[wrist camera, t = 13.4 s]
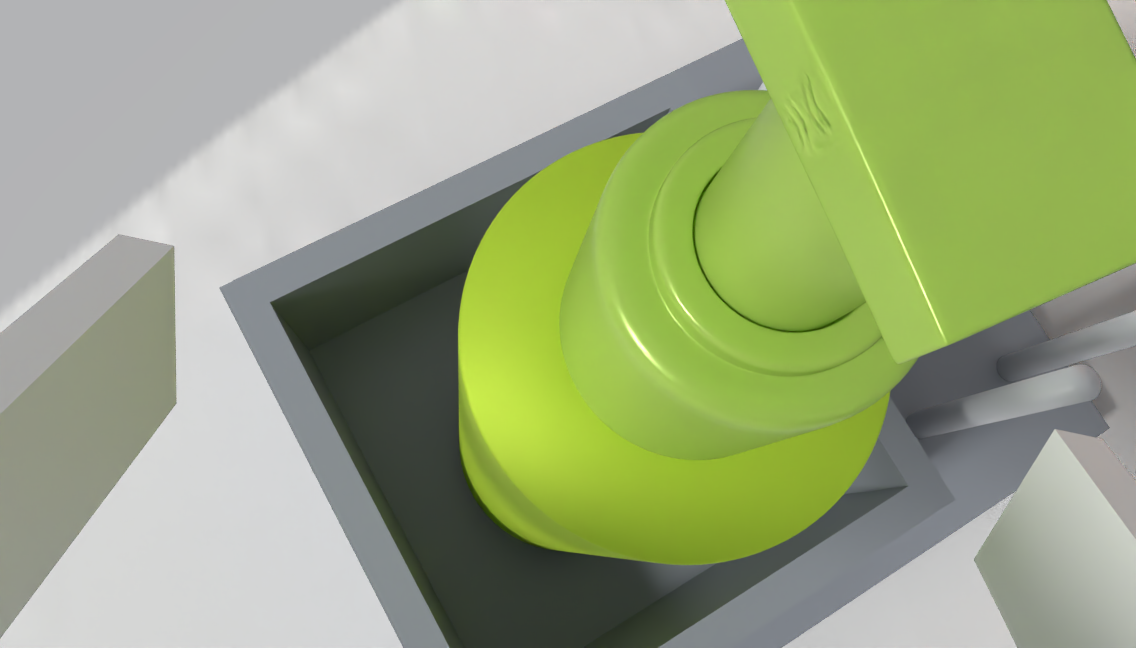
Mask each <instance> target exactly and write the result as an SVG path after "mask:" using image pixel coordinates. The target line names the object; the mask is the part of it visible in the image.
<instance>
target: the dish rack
mask: <svg viewBox="0 0 1136 648" xmlns="http://www.w3.org/2000/svg"><path fill="white" fill-rule="evenodd" d="M739 90H767V89H766V87H765V85H764V83H763V80H762V78H761V76H760V74H759V72H758V70H757V68H756V66H755V63H754V61H753V59H752V57H751V55H750V53H749V51H748V49H747V46H746V44H745V42H744V40H743V39H741V40H738V41H736V42H734V43H732V44H730V45H728V46H726V47H724V48H722V49H720V50H717V51H715V52H713V53H711V54H709V55H707V56H705V57H703V58H701V59H699V60H696V61H694V62H692V63H690V64H688V65H686V66H684V67H682V68H680V69H677V70H675V71H673V72H671V73H669V74H667V75H665V76H663V77H661V78H659V79H656V80H654V81H652V82H650V83H648V84H646V85H644V86H642V87H640V88H637V89H635V90H633V91H631V92H629V93H627V94H625V95H623V96H621V97H619V98H616V99H614V100H612V101H610V102H608V103H606V104H604V105H602V106H600V107H598V108H595V109H593V110H591V111H589V112H587V113H585V114H583V115H581V116H579V117H576V118H574V119H572V120H570V121H568V122H566V123H564V124H562V125H560V126H558V127H555V128H553V129H551V130H549V131H547V132H545V133H543V134H541V135H539V136H537V137H534V138H532V139H530V140H528V141H526V142H524V143H522V144H520V145H518V146H515V147H513V148H511V149H509V150H507V151H505V152H503V153H501V154H499V155H497V156H494V157H492V158H490V159H488V160H486V161H484V162H482V163H480V164H478V165H476V166H473V167H471V168H469V169H467V170H465V171H463V172H461V173H459V174H457V175H454V176H452V177H450V178H448V179H446V180H444V181H442V182H440V183H438V184H436V185H433V186H431V187H429V188H427V189H425V190H423V191H421V192H419V193H417V194H414V195H412V196H410V197H408V198H406V199H404V200H402V201H400V202H398V203H396V204H393V205H391V206H389V207H387V208H385V209H383V210H381V211H379V212H377V213H375V214H372V215H370V216H368V217H366V218H364V219H362V220H360V221H358V222H356V223H353V224H351V225H349V226H347V227H345V228H343V229H341V230H339V231H337V232H335V233H332V234H330V235H328V236H326V237H324V238H322V239H320V240H318V241H316V242H314V243H311V244H309V245H307V246H305V247H303V248H301V249H299V250H297V251H295V252H292V253H290V254H288V255H286V256H284V257H282V258H280V259H278V260H276V261H274V262H271V263H269V264H267V265H265V266H263V267H261V268H259V269H257V270H255V271H252V272H250V273H248V274H246V275H244V276H242V277H240V278H238V279H236V280H234V281H232V282H230V283H228V284H226V285H224V286H222V287H220V290H221V292H222V294H223V296H224V298H225V300H226V302H227V304H228V306H229V308H230V310H231V312H232V314H233V316H234V317H235V319H236V321H237V323H238V325H239V327H240V329H241V331H242V333H243V335H244V337H245V339H246V341H247V343H248V345H249V347H250V349H251V351H252V353H253V355H254V357H255V359H256V361H257V362H258V364H259V366H260V368H261V370H262V372H263V374H264V376H265V378H266V380H267V382H268V384H269V386H270V388H271V390H272V392H273V394H274V396H275V398H276V400H277V402H278V404H279V405H280V407H281V409H282V411H283V413H284V415H285V417H286V419H287V421H288V423H289V425H290V427H291V429H292V431H293V433H294V435H295V437H296V439H297V441H298V443H299V445H300V447H301V448H302V450H303V452H304V454H305V456H306V458H307V460H308V462H309V464H310V466H311V468H312V470H313V472H314V474H315V476H316V478H317V480H318V482H319V484H320V486H321V488H322V490H323V492H324V493H325V495H326V497H327V499H328V501H329V503H330V505H331V507H332V509H333V511H334V513H335V515H336V517H337V519H338V521H339V523H340V525H341V527H342V529H343V531H344V533H345V535H346V536H347V538H348V540H349V542H350V544H351V546H352V548H353V550H354V552H355V554H356V556H357V558H358V560H359V562H360V564H361V566H362V568H363V570H364V572H365V574H366V576H367V578H368V579H369V581H370V583H371V585H372V587H373V589H374V591H375V593H376V595H377V597H378V599H379V601H380V603H381V605H382V607H383V609H384V611H385V613H386V615H387V617H388V619H389V621H390V623H391V624H392V626H393V628H394V630H395V632H396V634H397V636H398V638H399V640H400V642H401V644H402V646H403V648H782V647H783V646H785V645H786V644H788V643H789V642H791V641H792V640H794V639H795V638H797V637H798V636H800V635H801V634H803V633H804V632H806V631H807V630H809V629H810V628H812V627H813V626H815V625H816V624H818V623H819V622H821V621H822V620H824V619H825V618H827V617H828V616H830V615H831V614H833V613H834V612H836V611H837V610H839V609H840V608H842V607H843V606H844V605H846V604H847V603H849V602H850V601H852V600H853V599H855V598H856V597H858V596H859V595H861V594H862V593H864V592H865V591H867V590H868V589H870V588H871V587H873V586H874V585H876V584H877V583H879V582H880V581H882V580H883V579H885V578H886V577H888V576H889V575H891V574H892V573H894V572H895V571H897V570H898V569H900V568H901V567H903V566H904V565H906V564H907V563H909V562H910V561H912V560H913V559H915V558H916V557H918V556H919V555H921V554H922V553H924V552H925V551H927V550H928V549H930V548H931V547H933V546H934V545H936V544H937V543H939V542H940V541H942V540H943V539H945V538H946V537H948V536H949V535H951V534H952V533H954V532H955V531H957V530H958V529H960V528H961V527H963V526H964V525H966V524H967V523H969V522H970V521H972V520H973V519H974V518H976V517H977V516H979V515H980V514H982V513H983V512H985V511H986V510H988V509H989V508H991V507H992V506H994V505H995V504H997V503H998V502H1000V501H1001V500H1003V499H1004V498H1006V497H1007V496H1009V495H1010V494H1012V493H1013V492H1015V491H1016V490H1017V489H1018V487H1019V486H1020V484H1021V483H1022V481H1023V479H1024V478H1025V476H1026V475H1027V473H1028V471H1029V470H1030V468H1031V466H1032V465H1033V463H1034V462H1035V460H1036V458H1037V457H1038V455H1039V454H1040V452H1041V450H1042V449H1043V447H1044V445H1045V444H1046V442H1047V441H1048V439H1049V437H1050V436H1051V434H1052V433H1053V431H1054V429H1057V430H1062V431H1067V432H1072V433H1077V434H1081V435H1086V436H1091V437H1097V436H1099V435H1100V434H1102V433H1103V432H1104V431H1106V430H1107V429H1109V426H1108V425H1107V423H1106V422H1105V420H1104V419H1103V417H1102V416H1101V414H1100V413H1099V412H1098V410H1097V409H1096V407H1095V406H1094V404H1093V403H1092V401H1091V400H1094V399H1095V398H1097V396H1098V395H1099V394H1100V391H1101V380H1100V378H1099V376H1098V374H1097V373H1096V371H1095V370H1094V369H1092V368H1091V367H1089V366H1087V365H1084V364H1078V365H1074V366H1071V367H1068V365H1071V364H1074V363H1078V362H1081V361H1085V360H1088V359H1092V358H1095V357H1098V356H1102V355H1105V354H1109V353H1112V352H1116V351H1119V350H1122V349H1126V348H1129V347H1133V346H1136V311H1133V312H1130V313H1127V314H1124V315H1121V316H1118V317H1115V318H1113V319H1110V320H1107V321H1104V322H1101V323H1098V324H1095V325H1092V326H1089V327H1086V328H1084V329H1081V330H1078V331H1075V332H1072V333H1069V334H1066V335H1063V336H1060V337H1057V338H1054V339H1052V340H1050V339H1049V338H1048V336H1047V335H1046V333H1045V332H1044V330H1043V329H1042V327H1041V326H1040V324H1039V323H1038V321H1037V320H1036V318H1035V317H1034V315H1033V314H1032V313H1031V311H1030V310H1028V311H1026V312H1024V313H1021V314H1019V315H1017V316H1015V317H1012V318H1010V319H1008V320H1005V321H1003V322H1001V323H999V324H996V325H994V326H992V327H990V328H987V329H985V330H983V331H980V332H978V333H976V334H974V335H971V336H969V337H967V338H965V339H962V340H960V341H958V342H955V343H953V344H951V345H948V346H946V347H943V348H941V349H938V350H936V351H933V352H930V353H928V354H925V355H923V356H920V357H919V358H918V359H917V361H916V362H915V364H914V365H913V366H912V368H911V369H910V370H909V372H908V373H907V374H906V375H905V376H904V378H903V379H902V380H901V381H900V382H899V383H898V384H897V385H896V386H895V387H894V388H893V389H892V390H891V391H890V397H889V402H888V407H887V411H886V415H885V419H884V422H883V425H882V428H881V431H880V434H879V436H878V439H877V441H876V444H875V446H874V448H873V450H872V452H871V454H870V456H869V458H868V460H867V462H866V464H865V465H864V467H863V469H862V470H861V472H860V473H859V475H858V476H857V478H856V479H855V481H854V482H853V483H852V485H851V486H850V487H849V489H848V490H847V491H846V492H845V494H844V495H843V496H842V497H841V498H840V499H839V500H838V501H837V502H836V503H835V504H834V505H833V506H832V507H831V508H830V509H829V510H828V511H827V512H826V513H825V514H824V515H823V516H822V517H820V518H819V519H818V520H817V521H815V522H814V523H813V524H812V525H810V526H809V527H807V528H806V529H805V530H803V531H801V532H800V533H798V534H797V535H795V536H793V537H792V538H790V539H788V540H786V541H784V542H782V543H780V544H779V545H776V546H774V547H772V548H770V549H767V550H765V551H762V552H759V553H757V554H754V555H750V556H747V557H744V558H740V559H736V560H731V561H726V562H720V563H714V564H703V565H671V564H661V563H652V562H644V561H636V560H628V559H620V558H612V557H604V556H597V555H589V554H581V553H573V552H565V551H557V550H550V549H544V548H540V547H536V546H533V545H530V544H528V543H525V542H523V541H521V540H519V539H517V538H515V537H513V536H512V535H510V534H508V533H507V532H505V531H504V530H503V529H501V528H500V527H499V526H498V525H497V524H495V523H494V522H493V521H492V520H491V519H490V518H489V517H488V516H487V515H486V513H485V512H484V511H483V510H482V508H481V507H480V506H479V504H478V503H477V501H476V500H475V498H474V496H473V495H472V493H471V491H470V489H469V487H468V484H467V482H466V479H465V476H464V473H463V469H462V465H461V459H460V451H459V382H458V322H459V312H460V305H461V299H462V293H463V289H464V285H465V281H466V277H467V274H468V271H469V268H470V265H471V263H472V260H473V257H474V255H475V253H476V250H477V248H478V246H479V244H480V242H481V240H482V238H483V236H484V235H485V233H486V231H487V229H488V228H489V226H490V225H491V223H492V221H493V220H494V219H495V217H496V216H497V214H498V213H499V212H500V210H501V209H502V208H503V206H504V205H505V204H506V203H507V202H508V201H509V199H510V198H511V197H512V196H513V195H514V194H515V193H516V192H517V191H518V190H519V189H520V188H521V187H522V186H523V185H524V184H525V183H527V182H528V181H529V180H530V179H531V178H532V177H534V176H535V175H536V174H538V173H539V172H540V171H542V170H543V169H544V168H546V167H547V166H549V165H550V164H552V163H554V162H555V161H557V160H558V159H560V158H562V157H564V156H566V155H568V154H570V153H572V152H574V151H576V150H578V149H580V148H583V147H585V146H588V145H590V144H593V143H596V142H599V141H602V140H606V139H610V138H613V137H618V136H623V135H628V134H635V133H644V132H645V131H646V130H647V129H648V128H649V127H650V126H652V125H653V124H654V123H655V122H657V121H658V120H659V119H661V118H662V117H664V116H665V115H667V114H668V113H670V112H672V111H673V110H675V109H677V108H679V107H681V106H683V105H685V104H687V103H690V102H692V101H695V100H697V99H700V98H703V97H706V96H710V95H714V94H718V93H723V92H730V91H739Z"/></svg>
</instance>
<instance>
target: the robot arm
mask: <svg viewBox="0 0 1136 648" xmlns="http://www.w3.org/2000/svg"><path fill="white" fill-rule="evenodd" d="M175 404H176V342H175V271H174V246H172V245H167V244H163V243H158V242H153V241H148V240H143V239H139V238H134V237H129V236H124V235H117V236H116V237H115V238H114V239H113V240H111V241H110V242H109V243H108V244H107V245H105V246H104V247H103V248H102V249H101V250H99V251H98V252H97V253H96V254H95V255H93V256H92V257H91V258H90V259H89V260H87V261H86V262H85V263H84V264H83V265H81V266H80V267H79V268H78V269H77V270H75V271H74V272H73V273H72V274H71V275H69V276H68V277H67V278H66V279H65V280H63V281H62V282H61V283H60V284H59V285H57V286H56V287H55V288H54V289H53V290H51V291H50V292H49V293H48V294H47V295H46V296H44V297H43V298H42V299H41V300H40V301H38V302H37V303H36V304H35V305H34V306H32V307H31V308H30V309H29V310H28V311H26V312H25V313H24V314H23V315H22V316H20V317H19V318H18V319H17V320H16V321H14V322H13V323H12V324H11V325H10V326H8V327H7V328H6V329H5V330H4V331H2V332H1V333H0V638H1V637H2V635H3V634H4V633H5V631H6V630H7V629H8V627H9V626H10V625H11V623H12V622H13V621H14V619H15V618H16V617H17V615H18V614H19V613H20V611H21V610H22V609H23V607H24V606H25V605H26V603H27V602H28V601H29V599H30V598H31V597H32V595H33V594H34V593H35V591H36V590H37V589H38V587H39V586H40V585H41V583H42V582H43V581H44V579H45V578H46V577H47V575H48V574H49V573H50V571H51V570H52V569H53V567H54V566H55V565H56V563H57V562H58V561H59V559H60V558H61V557H62V555H63V554H64V553H65V551H66V550H67V549H68V547H69V546H70V545H71V543H72V542H73V541H74V539H75V538H76V537H77V535H78V534H79V533H80V531H81V530H82V529H83V527H84V526H85V525H86V523H87V522H88V521H89V519H90V518H91V517H92V515H93V514H94V513H95V511H96V510H97V509H98V507H99V506H100V505H101V503H102V502H103V501H104V499H105V498H106V497H107V495H108V494H109V493H110V491H111V490H112V489H113V487H114V486H115V485H116V483H117V482H118V481H119V479H120V478H121V477H122V475H123V474H124V473H125V471H126V470H127V469H128V467H129V466H130V465H131V463H132V462H133V461H134V459H135V458H136V457H137V455H138V454H139V453H140V451H141V450H142V449H143V447H144V446H145V445H146V443H147V442H148V441H149V439H150V438H151V437H152V435H153V434H154V433H155V431H156V430H157V428H158V427H159V426H160V424H161V423H162V422H163V420H164V419H165V418H166V416H167V415H168V414H169V412H170V411H171V410H172V408H173V407H174V406H175ZM974 561H975V563H976V565H977V567H978V569H979V571H980V573H981V575H982V577H983V579H984V581H985V583H986V585H987V587H988V589H989V591H990V593H991V595H992V597H993V599H994V601H995V603H996V605H997V607H998V609H999V611H1000V613H1001V615H1002V617H1003V619H1004V621H1005V623H1006V625H1007V627H1008V629H1009V631H1010V633H1011V636H1012V638H1013V640H1014V642H1015V644H1016V646H1017V648H1136V480H1135V479H1134V478H1133V477H1132V475H1131V474H1130V473H1129V472H1128V470H1127V469H1126V468H1125V467H1124V465H1123V464H1122V463H1121V462H1120V460H1119V459H1118V458H1117V457H1116V455H1115V454H1114V453H1113V452H1112V450H1111V449H1110V448H1109V447H1108V445H1107V444H1106V443H1105V442H1104V440H1103V439H1101V438H1096V437H1091V436H1086V435H1081V434H1077V433H1072V432H1067V431H1062V430H1057V429H1054V431H1053V433H1052V434H1051V436H1050V437H1049V439H1048V441H1047V442H1046V444H1045V445H1044V447H1043V449H1042V450H1041V452H1040V454H1039V455H1038V457H1037V458H1036V460H1035V462H1034V463H1033V465H1032V466H1031V468H1030V470H1029V471H1028V473H1027V475H1026V476H1025V478H1024V479H1023V481H1022V483H1021V484H1020V486H1019V487H1018V489H1017V491H1016V492H1015V494H1014V496H1013V497H1012V499H1011V500H1010V502H1009V504H1008V505H1007V507H1006V508H1005V510H1004V512H1003V513H1002V515H1001V516H1000V518H999V520H998V521H997V523H996V525H995V526H994V528H993V529H992V531H991V533H990V534H989V536H988V537H987V539H986V541H985V542H984V544H983V546H982V547H981V549H980V550H979V552H978V554H977V555H976V557H975V558H974Z"/></svg>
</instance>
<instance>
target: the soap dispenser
mask: <svg viewBox="0 0 1136 648" xmlns="http://www.w3.org/2000/svg"><path fill="white" fill-rule="evenodd" d="M725 2H726V4H727V6H728V8H729V10H730V12H731V15H732V17H733V19H734V21H735V23H736V25H737V27H738V29H739V32H740V34H741V36H742V38H743V40H744V42H745V44H746V46H747V49H748V51H749V53H750V55H751V57H752V59H753V61H754V63H755V66H756V68H757V70H758V72H759V74H760V76H761V78H762V80H763V83H764V85H765V87H766V89H767V90H739V91H730V92H723V93H718V94H714V95H710V96H706V97H703V98H700V99H697V100H695V101H692V102H690V103H687V104H685V105H683V106H681V107H679V108H677V109H675V110H673V111H672V112H670V113H668V114H667V115H665V116H664V117H662V118H661V119H659V120H658V121H657V122H655V123H654V124H653V125H652V126H650V127H649V128H648V129H647V130H646V131H645V132H644V133H635V134H628V135H623V136H618V137H613V138H610V139H606V140H602V141H599V142H596V143H593V144H590V145H588V146H585V147H583V148H580V149H578V150H576V151H574V152H572V153H570V154H568V155H566V156H564V157H562V158H560V159H558V160H557V161H555V162H554V163H552V164H550V165H549V166H547V167H546V168H544V169H543V170H542V171H540V172H539V173H538V174H536V175H535V176H534V177H532V178H531V179H530V180H529V181H528V182H527V183H525V184H524V185H523V186H522V187H521V188H520V189H519V190H518V191H517V192H516V193H515V194H514V195H513V196H512V197H511V198H510V199H509V201H508V202H507V203H506V204H505V205H504V206H503V208H502V209H501V210H500V212H499V213H498V214H497V216H496V217H495V219H494V220H493V221H492V223H491V225H490V226H489V228H488V229H487V231H486V233H485V235H484V236H483V238H482V240H481V242H480V244H479V246H478V248H477V250H476V253H475V255H474V257H473V260H472V263H471V265H470V268H469V271H468V274H467V277H466V281H465V285H464V289H463V293H462V299H461V305H460V312H459V322H458V382H459V451H460V459H461V465H462V469H463V473H464V476H465V479H466V482H467V484H468V487H469V489H470V491H471V493H472V495H473V496H474V498H475V500H476V501H477V503H478V504H479V506H480V507H481V508H482V510H483V511H484V512H485V513H486V515H487V516H488V517H489V518H490V519H491V520H492V521H493V522H494V523H495V524H497V525H498V526H499V527H500V528H501V529H503V530H504V531H505V532H507V533H508V534H510V535H512V536H513V537H515V538H517V539H519V540H521V541H523V542H525V543H528V544H530V545H533V546H536V547H540V548H544V549H550V550H557V551H565V552H573V553H581V554H589V555H597V556H604V557H612V558H620V559H628V560H636V561H644V562H652V563H661V564H671V565H703V564H714V563H720V562H726V561H731V560H736V559H740V558H744V557H747V556H750V555H754V554H757V553H759V552H762V551H765V550H767V549H770V548H772V547H774V546H776V545H779V544H780V543H782V542H784V541H786V540H788V539H790V538H792V537H793V536H795V535H797V534H798V533H800V532H801V531H803V530H805V529H806V528H807V527H809V526H810V525H812V524H813V523H814V522H815V521H817V520H818V519H819V518H820V517H822V516H823V515H824V514H825V513H826V512H827V511H828V510H829V509H830V508H831V507H832V506H833V505H834V504H835V503H836V502H837V501H838V500H839V499H840V498H841V497H842V496H843V495H844V494H845V492H846V491H847V490H848V489H849V487H850V486H851V485H852V483H853V482H854V481H855V479H856V478H857V476H858V475H859V473H860V472H861V470H862V469H863V467H864V465H865V464H866V462H867V460H868V458H869V456H870V454H871V452H872V450H873V448H874V446H875V444H876V441H877V439H878V436H879V434H880V431H881V428H882V425H883V422H884V419H885V415H886V411H887V407H888V402H889V397H890V391H891V390H892V389H893V388H894V387H895V386H896V385H897V384H898V383H899V382H900V381H901V380H902V379H903V378H904V376H905V375H906V374H907V373H908V372H909V370H910V369H911V368H912V366H913V365H914V364H915V362H916V361H917V359H918V358H919V357H920V356H923V355H925V354H928V353H930V352H933V351H936V350H938V349H941V348H943V347H946V346H948V345H951V344H953V343H955V342H958V341H960V340H962V339H965V338H967V337H969V336H971V335H974V334H976V333H978V332H980V331H983V330H985V329H987V328H990V327H992V326H994V325H996V324H999V323H1001V322H1003V321H1005V320H1008V319H1010V318H1012V317H1015V316H1017V315H1019V314H1021V313H1024V312H1026V311H1028V310H1030V309H1033V308H1035V307H1037V306H1040V305H1042V304H1044V303H1046V302H1049V301H1051V300H1053V299H1055V298H1058V297H1060V296H1062V295H1065V294H1067V293H1069V292H1071V291H1074V290H1076V289H1078V288H1080V287H1083V286H1085V285H1087V284H1090V283H1092V282H1094V281H1096V280H1099V279H1101V278H1103V277H1105V276H1108V275H1110V274H1112V273H1114V272H1117V271H1119V270H1121V269H1124V268H1126V267H1128V266H1130V265H1133V264H1135V263H1136V59H1135V57H1134V55H1133V53H1132V51H1131V49H1130V47H1129V45H1128V43H1127V40H1126V38H1125V36H1124V34H1123V32H1122V30H1121V28H1120V26H1119V24H1118V22H1117V20H1116V18H1115V16H1114V14H1113V12H1112V10H1111V8H1110V6H1109V4H1108V2H1107V0H725Z"/></svg>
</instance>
